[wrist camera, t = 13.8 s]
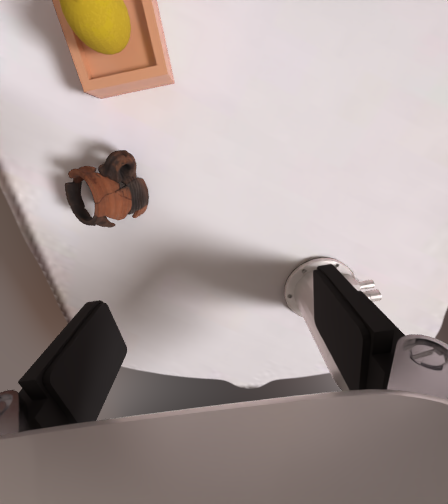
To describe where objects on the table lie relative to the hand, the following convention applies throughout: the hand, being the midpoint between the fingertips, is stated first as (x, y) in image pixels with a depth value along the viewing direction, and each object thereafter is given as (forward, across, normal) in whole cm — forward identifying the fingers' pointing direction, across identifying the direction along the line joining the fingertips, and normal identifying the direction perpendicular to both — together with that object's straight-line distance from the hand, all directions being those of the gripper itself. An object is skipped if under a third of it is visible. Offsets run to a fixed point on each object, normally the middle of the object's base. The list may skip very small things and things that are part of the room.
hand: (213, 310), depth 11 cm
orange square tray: (+28, +8, -20) cm, 36 cm away
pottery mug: (+29, +15, -4) cm, 32 cm away
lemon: (+26, +8, -20) cm, 33 cm away
